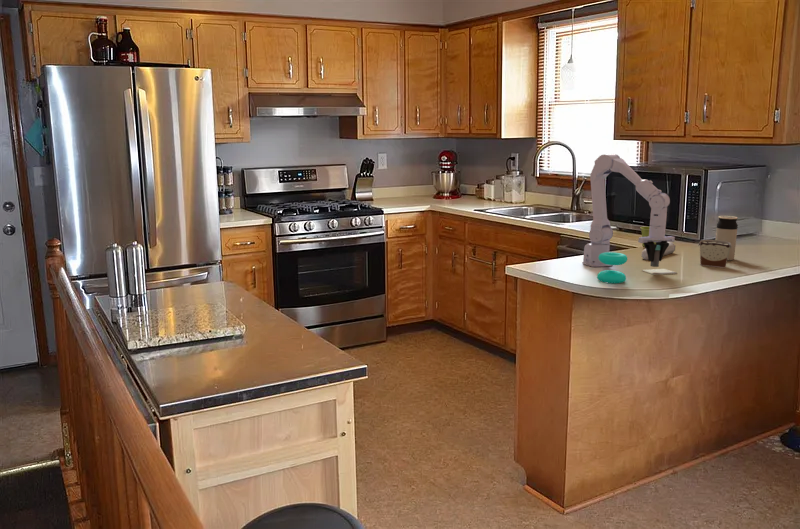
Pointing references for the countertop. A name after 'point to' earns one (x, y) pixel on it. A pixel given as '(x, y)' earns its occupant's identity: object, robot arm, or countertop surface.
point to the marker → (656, 257)
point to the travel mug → (727, 232)
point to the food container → (714, 253)
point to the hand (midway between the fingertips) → (654, 260)
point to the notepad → (659, 271)
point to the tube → (669, 250)
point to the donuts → (612, 275)
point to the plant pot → (645, 233)
